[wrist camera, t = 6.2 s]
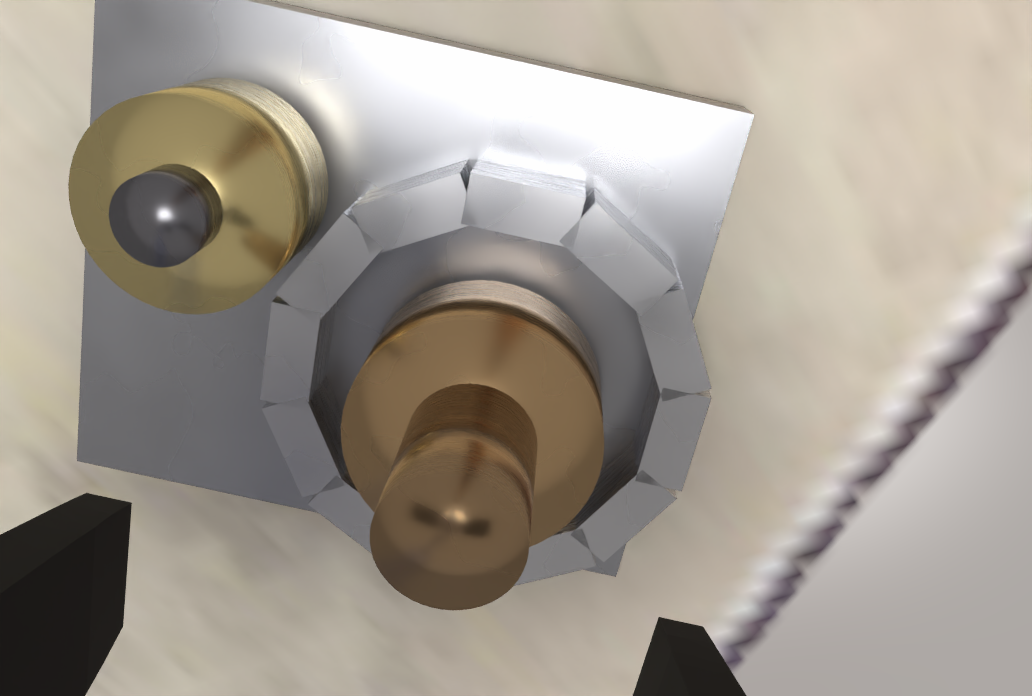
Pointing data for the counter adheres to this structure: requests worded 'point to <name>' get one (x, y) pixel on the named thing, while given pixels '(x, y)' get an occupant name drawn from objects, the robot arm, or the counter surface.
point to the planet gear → (472, 438)
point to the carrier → (375, 244)
